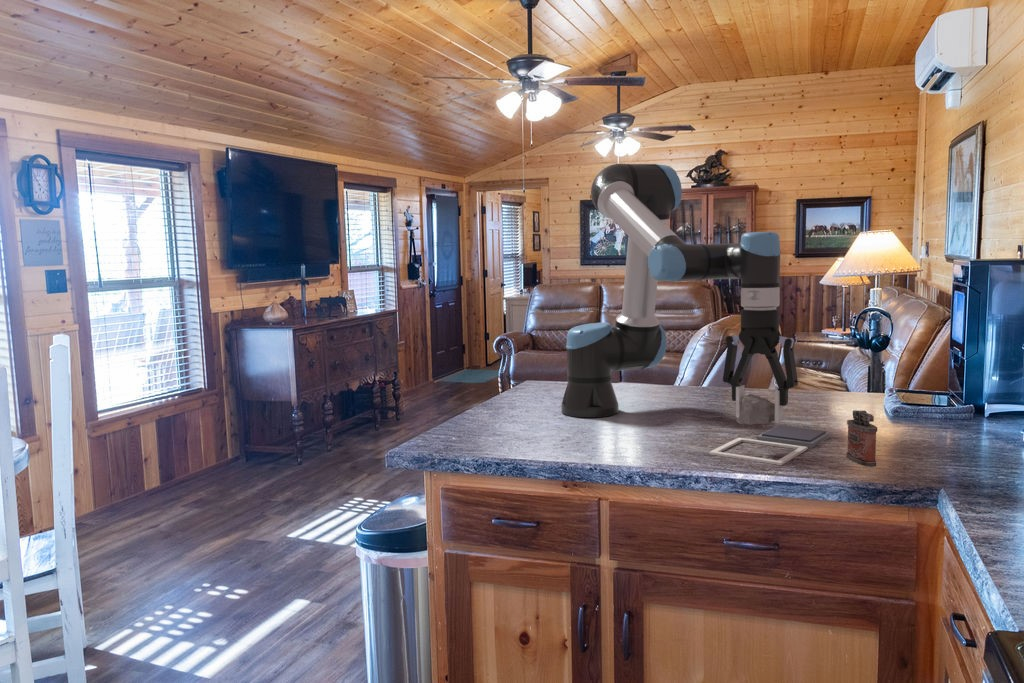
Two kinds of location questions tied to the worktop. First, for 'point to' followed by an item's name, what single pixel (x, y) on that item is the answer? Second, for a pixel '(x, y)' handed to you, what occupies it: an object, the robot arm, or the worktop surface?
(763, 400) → the stone
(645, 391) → the worktop surface
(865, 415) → the lighter
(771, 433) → the ink pad
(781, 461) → the white flat square frame
